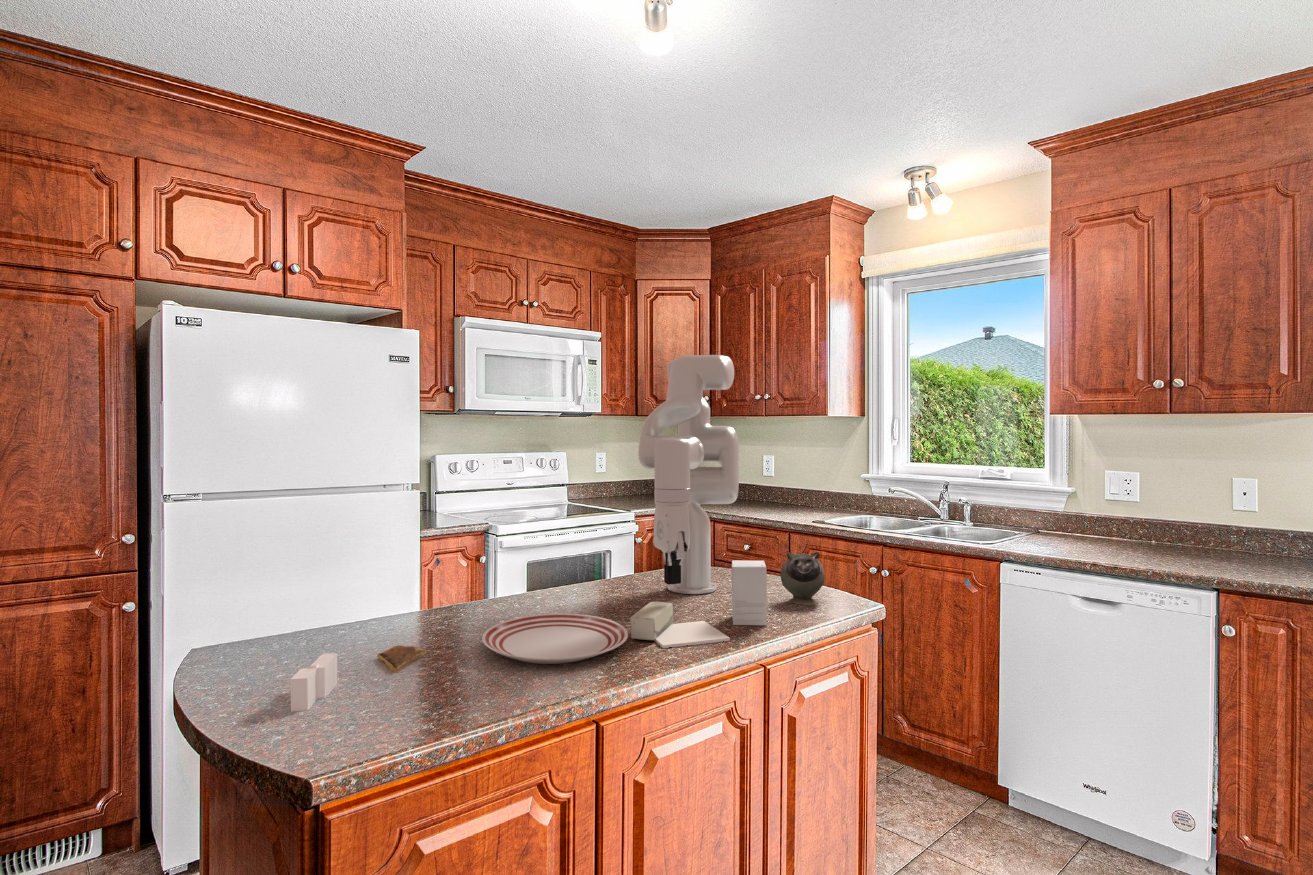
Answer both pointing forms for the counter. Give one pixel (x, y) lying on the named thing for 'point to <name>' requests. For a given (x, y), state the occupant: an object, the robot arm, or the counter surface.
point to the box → (651, 620)
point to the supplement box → (749, 592)
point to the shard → (400, 656)
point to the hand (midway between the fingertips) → (672, 583)
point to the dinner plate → (554, 637)
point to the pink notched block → (313, 682)
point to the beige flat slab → (690, 635)
